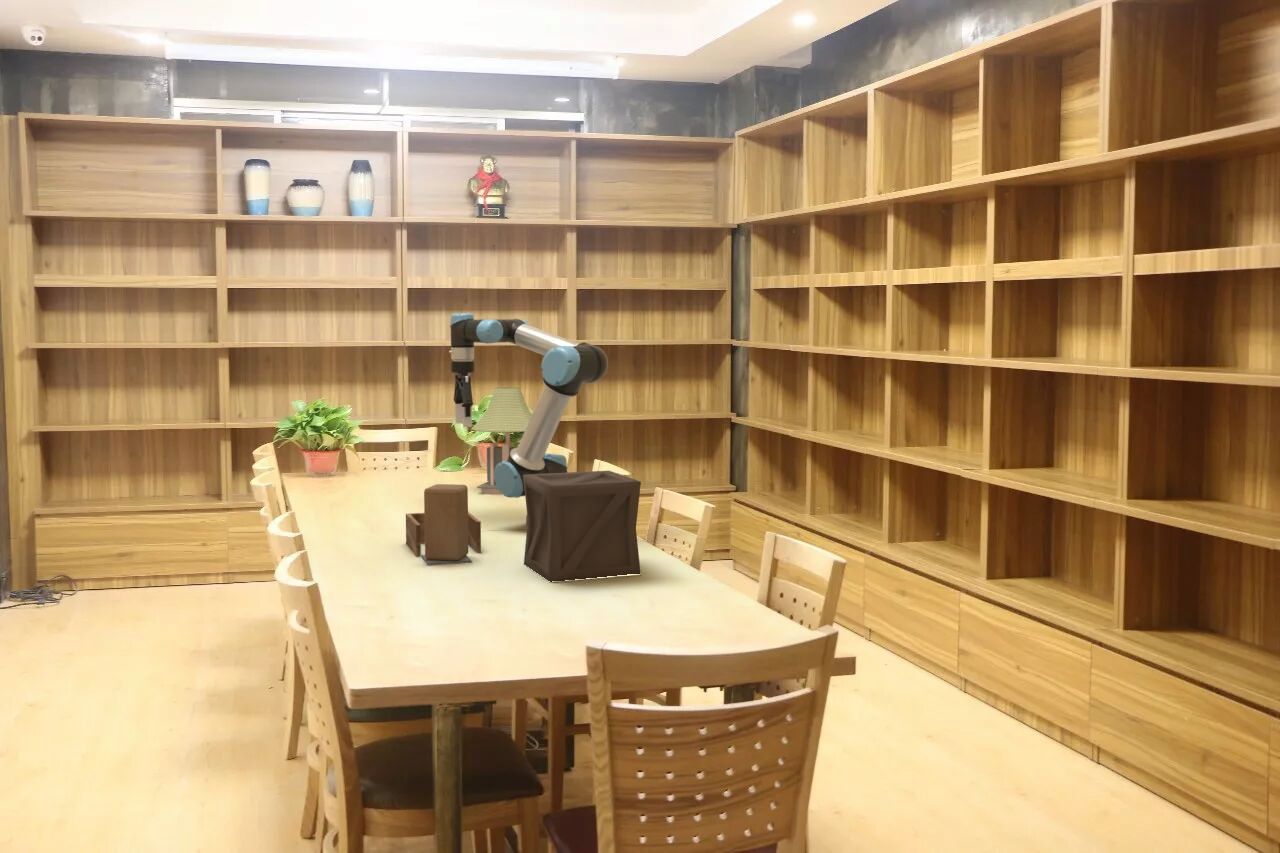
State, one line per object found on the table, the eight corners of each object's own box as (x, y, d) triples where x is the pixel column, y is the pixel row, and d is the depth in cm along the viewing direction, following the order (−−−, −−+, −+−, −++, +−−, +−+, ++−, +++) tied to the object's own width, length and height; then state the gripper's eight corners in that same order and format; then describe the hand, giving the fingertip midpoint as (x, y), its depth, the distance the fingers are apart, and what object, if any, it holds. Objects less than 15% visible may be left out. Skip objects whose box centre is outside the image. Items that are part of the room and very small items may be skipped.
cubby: (467, 540, 379) (467, 510, 378) (481, 552, 359) (480, 521, 358) (406, 543, 373) (405, 513, 372) (416, 556, 353) (416, 525, 352)
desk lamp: (465, 496, 469) (463, 389, 466) (486, 486, 497) (485, 385, 493) (531, 498, 465) (530, 390, 461) (549, 487, 493) (548, 385, 489)
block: (459, 561, 343) (458, 489, 341) (424, 560, 345) (422, 488, 343) (469, 554, 353) (468, 484, 351) (435, 553, 355) (434, 483, 353)
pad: (463, 554, 356) (463, 552, 356) (471, 562, 345) (471, 560, 345) (421, 557, 352) (421, 554, 352) (427, 565, 341) (427, 563, 341)
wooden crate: (609, 559, 351) (608, 470, 349) (641, 575, 328) (640, 480, 326) (523, 566, 342) (522, 474, 340) (550, 583, 319) (549, 484, 317)
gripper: (444, 359, 420) (445, 422, 422) (458, 362, 396) (459, 428, 398) (466, 359, 422) (467, 421, 424) (481, 361, 399) (482, 428, 401)
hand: (463, 425), depth 411 cm, fingers open, 13 cm apart
